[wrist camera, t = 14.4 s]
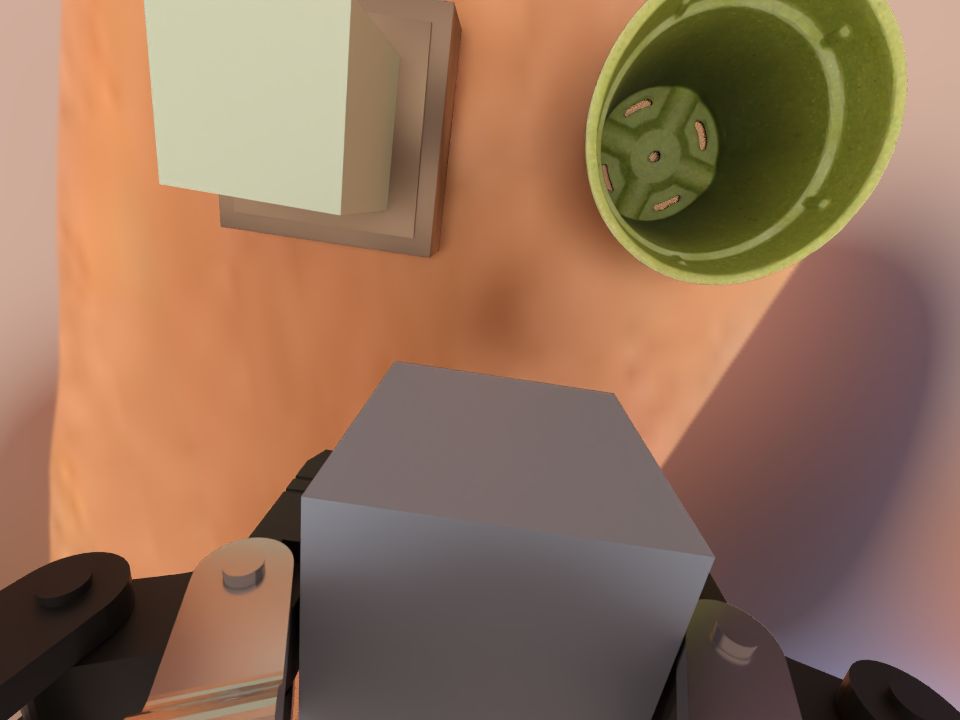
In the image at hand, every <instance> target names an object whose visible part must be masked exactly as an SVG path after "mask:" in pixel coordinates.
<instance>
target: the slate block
mask: <svg viewBox="0 0 960 720" xmlns="http://www.w3.org/2000/svg"><path fill="white" fill-rule="evenodd" d="M714 559H715V556H714V555H713V553H712V552H711V550H710V549H709V547H708V545H707V544H706V542H705V540H704V539H703V537H702V535H701V534H700V532H699V530H698V529H697V527H696V526H695V524H694V523H693V521H692V519H691V518H690V516H689V514H688V513H687V511H686V509H685V508H684V506H683V505H682V503H681V501H680V500H679V498H678V497H677V495H676V493H675V492H674V490H673V488H672V487H671V485H670V484H669V482H668V480H667V479H666V477H665V476H664V474H663V472H662V471H661V469H660V467H659V466H658V464H657V462H656V461H655V459H654V458H653V456H652V454H651V453H650V451H649V449H648V448H647V446H646V445H645V443H644V441H643V440H642V438H641V437H640V435H639V433H638V432H637V430H636V428H635V427H634V425H633V424H632V422H631V420H630V419H629V417H628V415H627V414H626V412H625V411H624V409H623V407H622V406H621V404H620V402H619V401H618V399H617V398H616V396H615V394H614V393H608V392H601V391H594V390H587V389H581V388H574V387H567V386H560V385H554V384H547V383H540V382H533V381H527V380H520V379H513V378H506V377H500V376H493V375H486V374H479V373H473V372H466V371H459V370H452V369H446V368H439V367H432V366H425V365H419V364H412V363H405V362H398V361H395V362H394V364H393V365H392V366H391V368H390V369H389V371H388V372H387V374H386V375H385V377H384V378H383V379H382V381H381V382H380V384H379V385H378V387H377V388H376V390H375V391H374V392H373V394H372V395H371V397H370V398H369V400H368V401H367V403H366V404H365V405H364V407H363V408H362V410H361V411H360V413H359V414H358V415H357V417H356V418H355V420H354V421H353V423H352V424H351V426H350V427H349V428H348V430H347V431H346V433H345V434H344V436H343V437H342V439H341V440H340V441H339V443H338V444H337V446H336V447H335V449H334V450H333V452H332V453H331V454H330V456H329V457H328V459H327V460H326V462H325V463H324V464H323V466H322V467H321V469H320V470H319V472H318V473H317V475H316V476H315V477H314V479H313V480H312V482H311V483H310V485H309V486H308V488H307V489H306V490H305V492H304V493H303V495H302V496H301V558H300V648H299V720H651V719H652V716H653V714H654V711H655V708H656V706H657V703H658V701H659V698H660V696H661V693H662V691H663V688H664V686H665V683H666V681H667V678H668V675H669V673H670V670H671V668H672V665H673V663H674V660H675V658H676V655H677V653H678V650H679V648H680V645H681V642H682V640H683V637H684V635H685V632H686V630H687V627H688V625H689V622H690V620H691V617H692V615H693V612H694V610H695V607H696V604H697V602H698V599H699V597H700V594H701V592H702V589H703V587H704V584H705V582H706V579H707V577H708V574H709V571H710V569H711V566H712V564H713V561H714Z"/></svg>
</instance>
